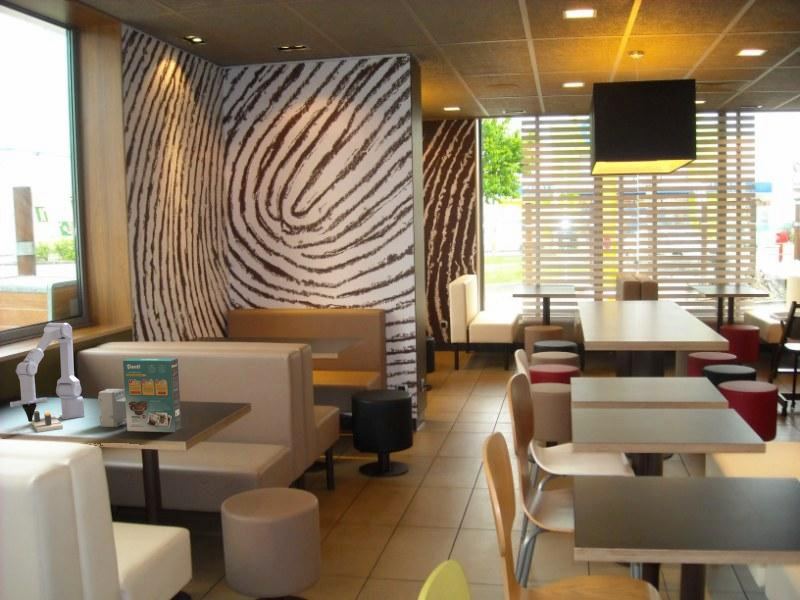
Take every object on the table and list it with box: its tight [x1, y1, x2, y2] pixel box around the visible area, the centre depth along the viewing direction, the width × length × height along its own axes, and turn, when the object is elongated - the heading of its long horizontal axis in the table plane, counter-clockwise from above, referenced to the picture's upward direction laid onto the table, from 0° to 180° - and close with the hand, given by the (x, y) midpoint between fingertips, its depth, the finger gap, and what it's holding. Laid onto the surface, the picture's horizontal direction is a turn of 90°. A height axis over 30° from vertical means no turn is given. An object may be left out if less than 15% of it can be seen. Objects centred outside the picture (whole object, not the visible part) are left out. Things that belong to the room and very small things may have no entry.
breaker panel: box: [30, 410, 64, 433], centre depth 373 cm, size 10×20×6 cm, turn 31°
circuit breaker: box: [97, 388, 127, 428], centre depth 370 cm, size 8×14×15 cm, turn 79°
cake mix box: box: [122, 357, 182, 433], centre depth 358 cm, size 22×6×30 cm, turn 77°
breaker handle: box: [44, 412, 52, 425], centre depth 368 cm, size 2×4×5 cm, turn 31°
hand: (30, 421), depth 365 cm, fingers closed
